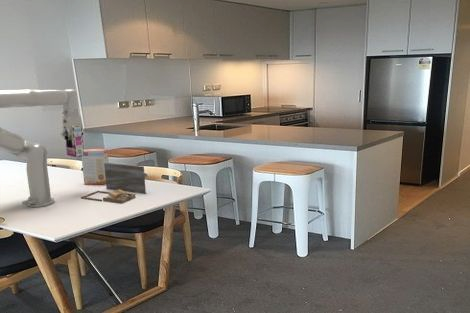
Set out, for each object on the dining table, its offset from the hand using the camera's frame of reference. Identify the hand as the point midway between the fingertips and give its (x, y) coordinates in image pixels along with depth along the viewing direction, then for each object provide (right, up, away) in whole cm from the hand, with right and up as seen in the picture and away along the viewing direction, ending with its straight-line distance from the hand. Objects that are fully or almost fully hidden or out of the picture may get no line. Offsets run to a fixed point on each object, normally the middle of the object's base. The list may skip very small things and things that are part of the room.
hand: (74, 146), depth 218 cm
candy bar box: (0, -5, +1) cm, 5 cm away
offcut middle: (+26, -28, -10) cm, 39 cm away
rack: (+22, -28, -3) cm, 36 cm away
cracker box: (+4, -22, +26) cm, 34 cm away
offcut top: (+26, -26, -10) cm, 38 cm away
